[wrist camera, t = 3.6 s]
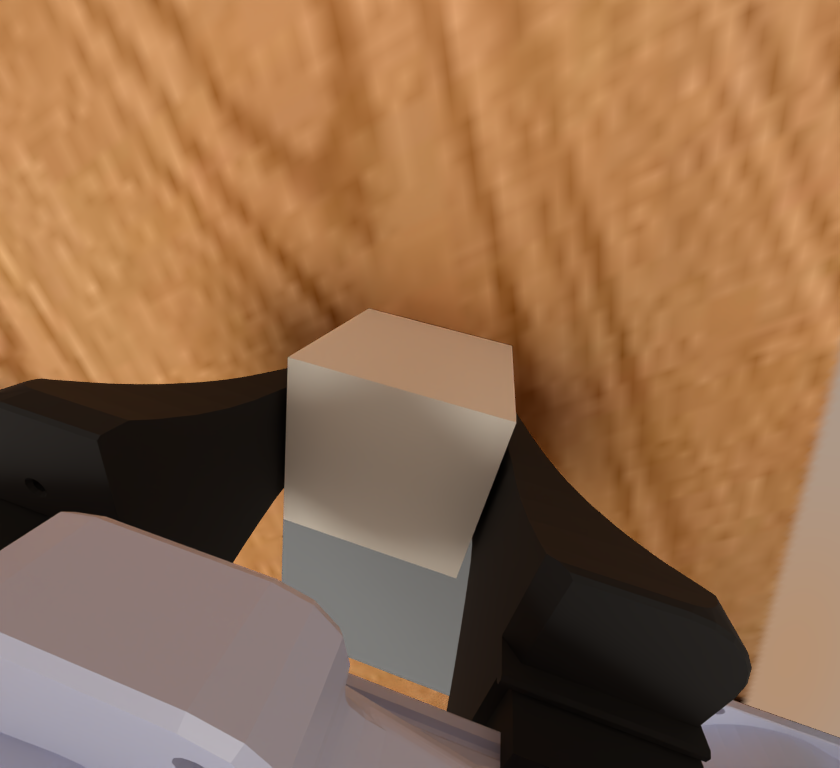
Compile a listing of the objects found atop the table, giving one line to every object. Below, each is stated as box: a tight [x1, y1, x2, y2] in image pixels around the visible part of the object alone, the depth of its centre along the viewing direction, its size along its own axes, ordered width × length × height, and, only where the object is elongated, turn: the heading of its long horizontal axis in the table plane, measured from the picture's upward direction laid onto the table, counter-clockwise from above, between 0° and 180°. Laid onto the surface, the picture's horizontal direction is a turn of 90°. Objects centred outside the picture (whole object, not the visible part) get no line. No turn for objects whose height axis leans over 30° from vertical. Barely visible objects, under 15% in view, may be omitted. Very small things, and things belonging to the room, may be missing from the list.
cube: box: [284, 309, 516, 578], centre depth 11 cm, size 5×5×5 cm
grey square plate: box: [282, 517, 472, 696], centre depth 17 cm, size 12×12×1 cm
